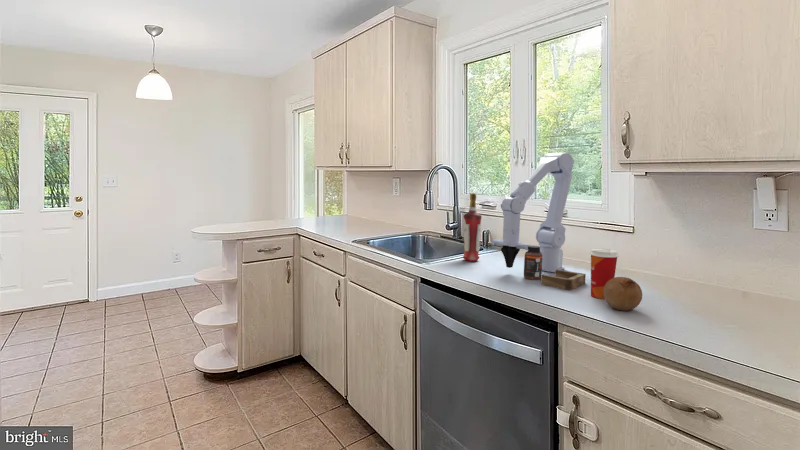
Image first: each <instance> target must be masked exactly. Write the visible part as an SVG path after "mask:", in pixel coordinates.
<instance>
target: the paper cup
mask: <svg viewBox="0 0 800 450" xmlns="http://www.w3.org/2000/svg"><path fill="white" fill-rule="evenodd" d="M589 255H590V296H591V297H592V298H594V299H595V298H596V299H600V300H604V298H603V295H604V294H603V289H604V286H605V284H606V283H607V282H608V281H609V280H610V279H612V278H615V277H616V270H617V269H616V268H617V261H618V257H619V254H618V251H617V250H615V249H607V248H592V249H591V251H590V253H589Z"/></svg>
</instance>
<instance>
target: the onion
mask: <svg viewBox="0 0 800 450" xmlns="http://www.w3.org/2000/svg"><path fill="white" fill-rule="evenodd" d="M603 294H604V295H603V298H604V299H603V300H604V301H605V302H607V304H608V305H609V306H610V307H611V309H615V310H617V311H623V312H624V311H626V312H627V311H632V310H634V309H635V308H637V307H639V305H640V303H641V302H642V299H643V291H642V288H641V286H640V285H639V283H638V282H636V281H635V280H633V279H632V278H629V277H626V276H615V277H614V278H612V279H610V280H609V281H608V282H607V283H606V284H605V286H604V289H603Z"/></svg>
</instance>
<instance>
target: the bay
mask: <svg viewBox="0 0 800 450" xmlns="http://www.w3.org/2000/svg"><path fill="white" fill-rule="evenodd" d="M554 273H555V274H554V275H549V274H541V275H542V276H541V279H540V281H541V282H540V283H541V286H546V287H547V286H548V287H552V288H557V289H562V290H567V291H572V290H574V289H576V288H579V287H581V286H582V285H585V284H586V273H581V272H575V271H571V270H570V271H569V270H564V269H562V270H559V269H557V270H556V272H554Z"/></svg>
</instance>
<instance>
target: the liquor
mask: <svg viewBox="0 0 800 450" xmlns="http://www.w3.org/2000/svg"><path fill="white" fill-rule="evenodd" d="M477 195H478V194H477V193H475V192H474V193H469V201H470V202H469V208H468V212H466V213H464V214H463V256H462V258H463V259H464V260H465V261H466V262H471V263H472V262H474V263H475V262H477V261H478V260H480V255H479V252H480V251H479V250H480V237H481V227H482V215H481V214H480V213H478V212H477V203H476V200H477Z"/></svg>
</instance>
